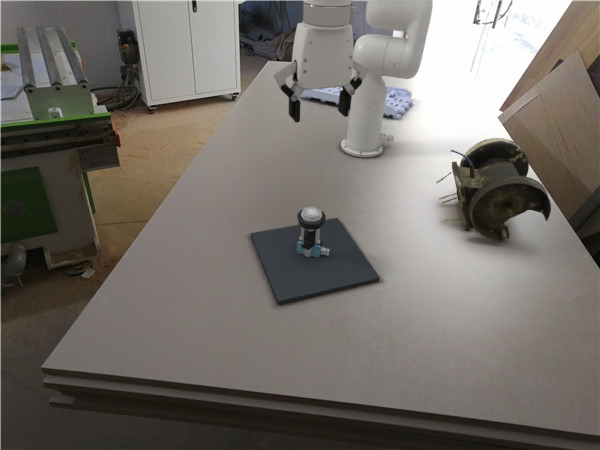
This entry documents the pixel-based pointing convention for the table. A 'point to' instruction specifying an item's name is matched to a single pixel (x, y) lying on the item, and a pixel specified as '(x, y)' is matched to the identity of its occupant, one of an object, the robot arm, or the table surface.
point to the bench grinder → (496, 187)
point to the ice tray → (391, 105)
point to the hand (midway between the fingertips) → (319, 116)
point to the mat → (311, 262)
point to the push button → (311, 232)
